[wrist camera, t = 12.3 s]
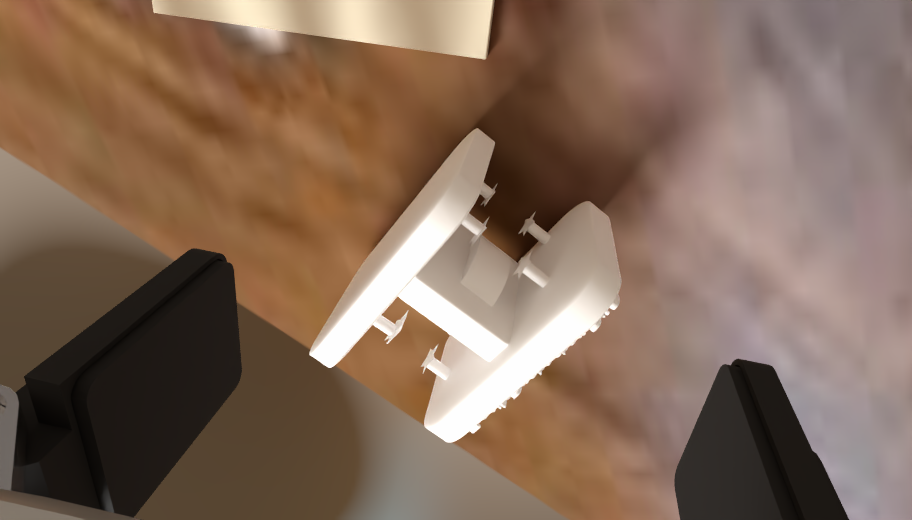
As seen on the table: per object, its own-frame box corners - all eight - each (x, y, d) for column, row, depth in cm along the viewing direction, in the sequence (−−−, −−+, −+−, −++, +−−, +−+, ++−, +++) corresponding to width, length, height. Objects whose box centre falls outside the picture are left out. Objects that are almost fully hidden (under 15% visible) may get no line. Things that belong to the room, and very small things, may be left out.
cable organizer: (487, 104, 36) (459, 168, 25) (614, 209, 37) (635, 308, 27) (358, 264, 42) (296, 365, 32) (471, 346, 44) (446, 465, 34)
